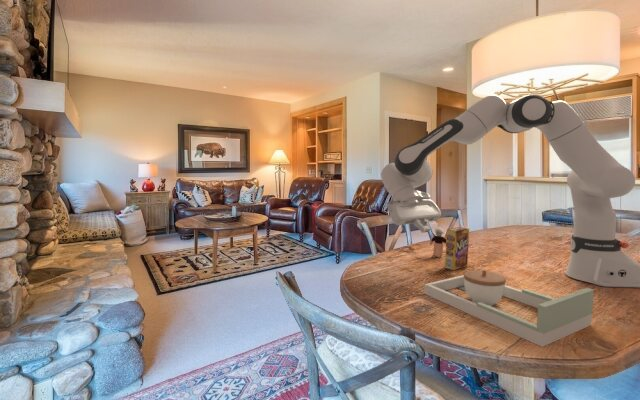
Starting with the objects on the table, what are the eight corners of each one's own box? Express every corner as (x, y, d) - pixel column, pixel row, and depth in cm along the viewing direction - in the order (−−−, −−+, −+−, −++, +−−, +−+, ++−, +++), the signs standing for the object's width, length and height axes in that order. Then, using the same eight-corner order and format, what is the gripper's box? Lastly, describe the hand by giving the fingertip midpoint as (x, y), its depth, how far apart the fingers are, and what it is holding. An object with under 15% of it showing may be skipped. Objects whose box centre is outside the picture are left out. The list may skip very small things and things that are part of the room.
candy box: (454, 271, 123) (455, 230, 122) (444, 268, 127) (445, 228, 125) (468, 266, 128) (469, 227, 127) (458, 264, 132) (459, 226, 130)
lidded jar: (498, 313, 88) (500, 279, 87) (457, 302, 95) (458, 270, 94) (508, 300, 96) (510, 269, 95) (469, 292, 103) (470, 262, 102)
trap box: (424, 293, 102) (424, 284, 102) (469, 282, 111) (469, 273, 111) (542, 346, 72) (542, 333, 71) (590, 325, 81) (591, 313, 81)
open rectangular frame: (476, 306, 86) (477, 283, 85) (524, 291, 95) (525, 271, 94) (543, 334, 71) (544, 307, 71) (592, 313, 81) (594, 289, 80)
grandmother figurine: (428, 257, 142) (429, 228, 140) (429, 255, 145) (430, 226, 144) (448, 259, 139) (449, 229, 137) (448, 256, 142) (449, 227, 141)
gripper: (388, 196, 114) (407, 228, 107) (432, 193, 124) (452, 223, 116) (380, 207, 119) (398, 239, 111) (423, 204, 128) (442, 233, 120)
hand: (426, 231), depth 114 cm, fingers closed
